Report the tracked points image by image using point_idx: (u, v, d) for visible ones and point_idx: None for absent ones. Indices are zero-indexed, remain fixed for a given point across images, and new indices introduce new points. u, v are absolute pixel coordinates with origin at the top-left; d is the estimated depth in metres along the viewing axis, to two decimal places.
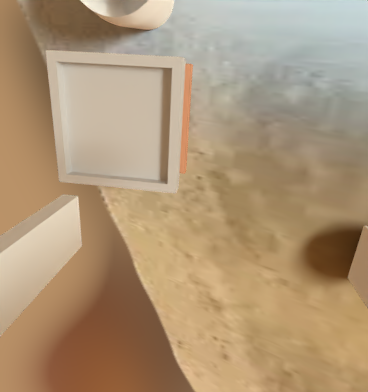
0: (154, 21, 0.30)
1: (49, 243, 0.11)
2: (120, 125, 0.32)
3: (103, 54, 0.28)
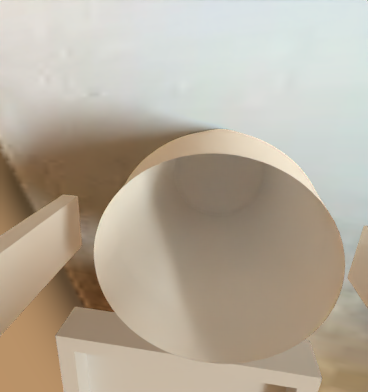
0: (249, 261, 0.17)
1: (49, 243, 0.11)
2: None
3: (164, 354, 0.15)
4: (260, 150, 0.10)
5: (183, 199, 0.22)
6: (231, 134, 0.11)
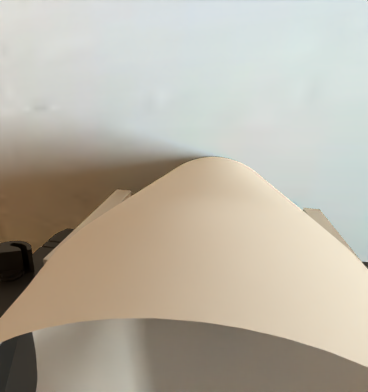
0: (257, 363, 0.11)
1: None
2: None
3: None
4: (301, 265, 0.04)
5: None
6: (231, 208, 0.05)
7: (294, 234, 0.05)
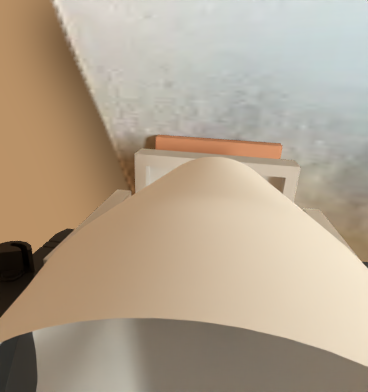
0: (257, 363, 0.11)
1: None
2: None
3: None
4: (301, 265, 0.04)
5: None
6: (231, 208, 0.05)
7: (294, 234, 0.05)
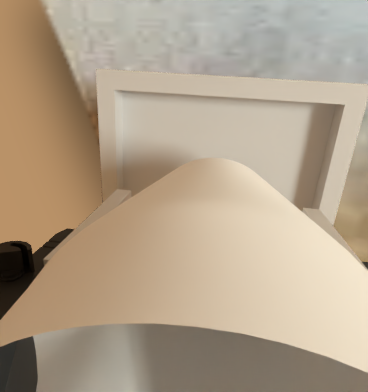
0: (257, 364, 0.11)
1: None
2: None
3: (208, 78, 0.15)
4: (301, 269, 0.04)
5: None
6: (230, 210, 0.05)
7: (294, 237, 0.05)
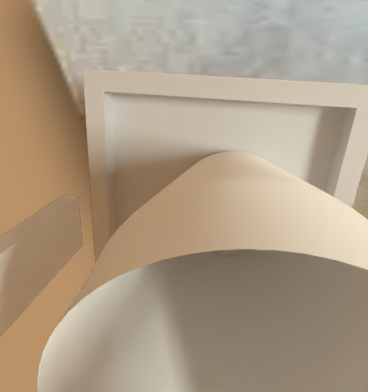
0: (277, 335, 0.12)
1: (50, 243, 0.12)
2: None
3: (206, 78, 0.13)
4: (337, 223, 0.05)
5: None
6: (274, 185, 0.06)
7: (327, 204, 0.06)
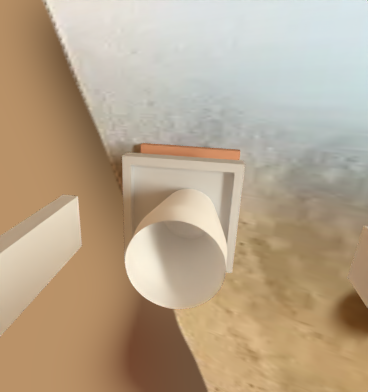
0: (202, 264, 0.31)
1: (49, 243, 0.11)
2: None
3: (174, 160, 0.32)
4: (192, 216, 0.24)
5: (168, 228, 0.36)
6: (183, 207, 0.25)
7: (194, 212, 0.25)
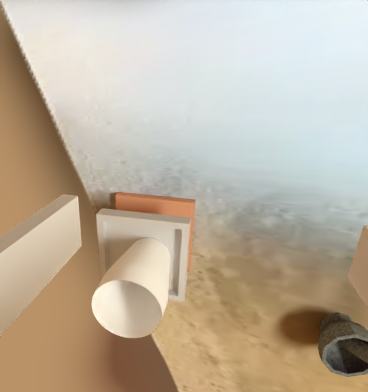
0: (155, 300, 0.41)
1: (49, 243, 0.11)
2: None
3: (135, 219, 0.42)
4: (139, 275, 0.34)
5: None
6: (134, 266, 0.35)
7: (141, 270, 0.35)
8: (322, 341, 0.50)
